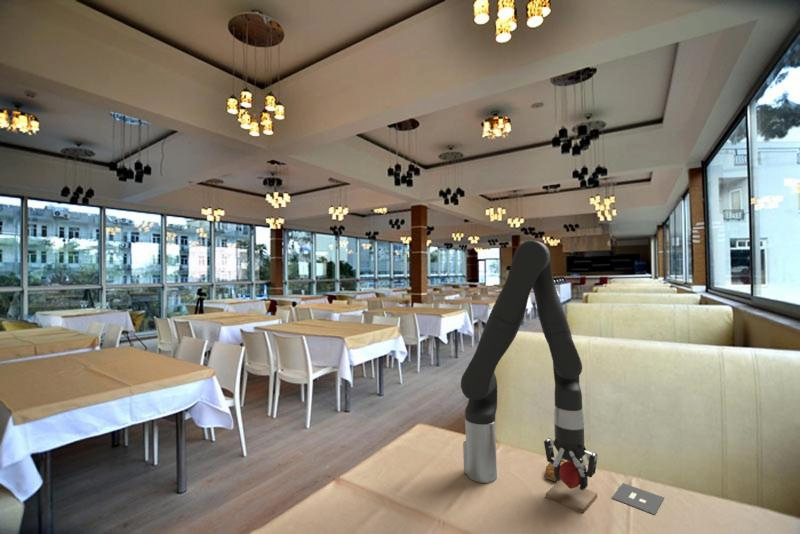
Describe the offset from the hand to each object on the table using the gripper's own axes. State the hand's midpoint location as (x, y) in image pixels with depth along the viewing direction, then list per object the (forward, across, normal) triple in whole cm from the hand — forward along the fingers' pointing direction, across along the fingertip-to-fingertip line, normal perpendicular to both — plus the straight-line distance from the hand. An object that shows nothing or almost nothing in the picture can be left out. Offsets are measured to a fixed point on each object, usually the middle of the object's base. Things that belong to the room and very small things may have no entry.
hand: (570, 483), depth 101 cm
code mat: (+3, +13, +12) cm, 18 cm away
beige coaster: (+4, 0, 0) cm, 4 cm away
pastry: (+4, -7, +9) cm, 12 cm away
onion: (+1, 0, 0) cm, 1 cm away
